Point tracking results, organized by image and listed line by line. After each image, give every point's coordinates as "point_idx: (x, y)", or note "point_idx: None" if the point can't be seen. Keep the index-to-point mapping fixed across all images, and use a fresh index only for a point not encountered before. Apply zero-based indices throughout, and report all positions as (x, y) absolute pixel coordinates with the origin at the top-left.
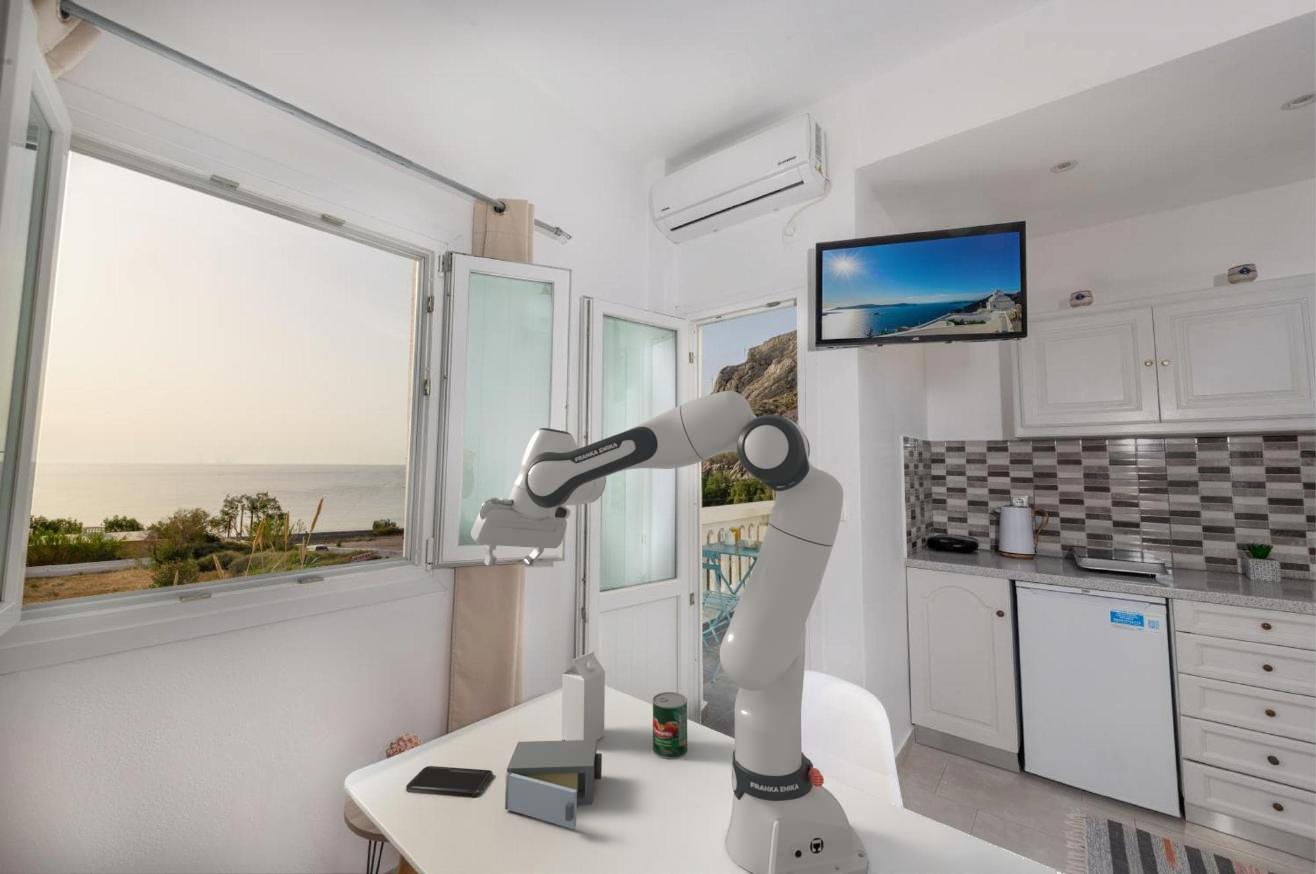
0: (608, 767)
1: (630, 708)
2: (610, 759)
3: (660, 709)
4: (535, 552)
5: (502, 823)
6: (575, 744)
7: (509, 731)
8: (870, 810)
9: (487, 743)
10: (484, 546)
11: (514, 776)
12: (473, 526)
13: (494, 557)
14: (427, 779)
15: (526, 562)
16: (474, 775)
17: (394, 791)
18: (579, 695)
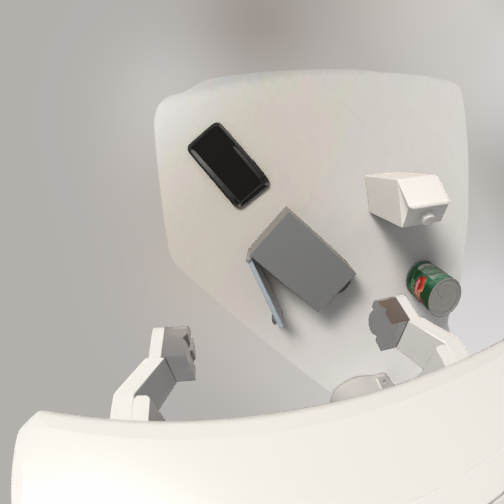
0: (363, 259)
1: (457, 179)
2: (375, 249)
3: (427, 301)
4: (425, 349)
5: (239, 261)
6: (333, 266)
7: (329, 108)
8: None
9: (295, 115)
10: (116, 394)
11: (251, 268)
12: (15, 466)
13: (183, 377)
14: (209, 147)
15: (377, 316)
16: (250, 174)
17: (179, 141)
18: (391, 214)
